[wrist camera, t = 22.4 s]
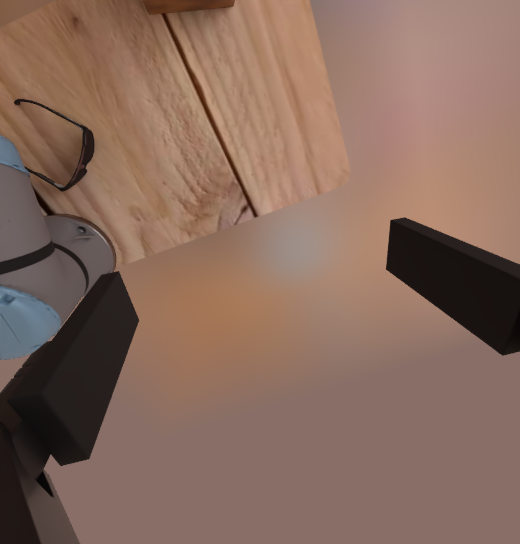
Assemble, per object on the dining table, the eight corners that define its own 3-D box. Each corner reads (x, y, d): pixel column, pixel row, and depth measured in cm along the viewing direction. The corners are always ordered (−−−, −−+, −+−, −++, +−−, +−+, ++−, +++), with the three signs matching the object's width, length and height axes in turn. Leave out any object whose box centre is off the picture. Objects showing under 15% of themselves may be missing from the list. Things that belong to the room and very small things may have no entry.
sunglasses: (85, 194, 47) (68, 198, 42) (9, 154, 44) (-18, 153, 39) (107, 136, 44) (91, 133, 39) (28, 88, 41) (0, 79, 36)
